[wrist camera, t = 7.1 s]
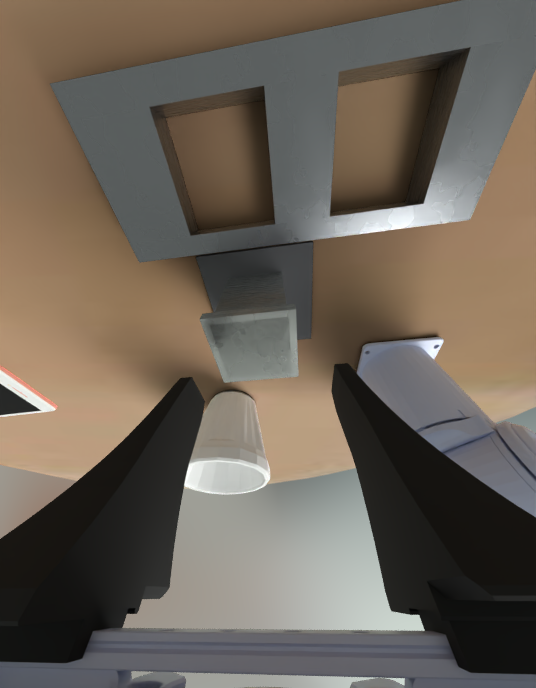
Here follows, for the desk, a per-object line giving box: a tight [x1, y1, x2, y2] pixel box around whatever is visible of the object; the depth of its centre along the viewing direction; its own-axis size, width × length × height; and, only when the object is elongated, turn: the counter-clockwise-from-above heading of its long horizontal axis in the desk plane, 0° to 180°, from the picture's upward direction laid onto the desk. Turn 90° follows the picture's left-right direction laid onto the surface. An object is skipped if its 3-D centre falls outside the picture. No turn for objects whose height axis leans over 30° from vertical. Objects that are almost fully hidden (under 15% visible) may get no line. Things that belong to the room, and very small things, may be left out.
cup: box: [184, 390, 270, 494], centre depth 24 cm, size 10×10×9 cm
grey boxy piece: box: [200, 272, 298, 383], centre depth 15 cm, size 5×5×7 cm
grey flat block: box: [50, 0, 536, 262], centre depth 12 cm, size 8×22×2 cm, turn 97°
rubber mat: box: [196, 241, 313, 340], centre depth 18 cm, size 9×9×1 cm
